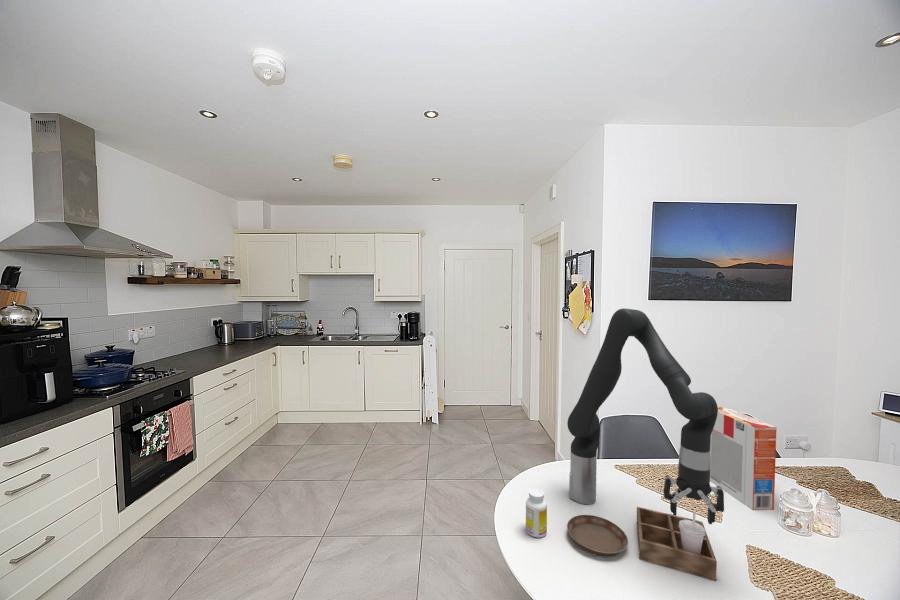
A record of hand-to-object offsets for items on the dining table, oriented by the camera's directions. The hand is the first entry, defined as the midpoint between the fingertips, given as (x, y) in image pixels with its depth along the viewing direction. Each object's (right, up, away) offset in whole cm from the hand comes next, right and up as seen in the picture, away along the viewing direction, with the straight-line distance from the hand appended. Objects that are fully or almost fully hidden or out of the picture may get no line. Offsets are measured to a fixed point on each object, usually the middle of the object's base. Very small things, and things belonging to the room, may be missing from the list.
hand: (691, 518), depth 104 cm
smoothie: (0, -12, +1) cm, 12 cm away
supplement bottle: (-41, -13, +14) cm, 46 cm away
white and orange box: (+42, -13, +37) cm, 58 cm away
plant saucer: (-23, -13, +10) cm, 29 cm away
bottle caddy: (-2, -13, +6) cm, 15 cm away
